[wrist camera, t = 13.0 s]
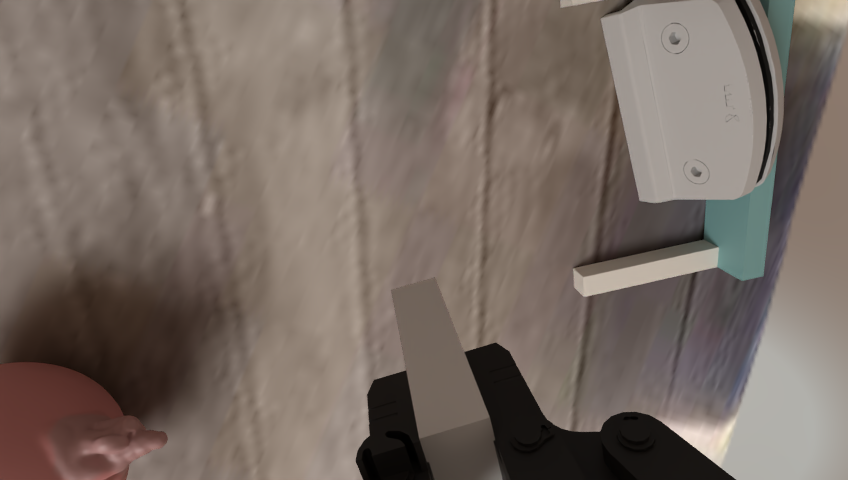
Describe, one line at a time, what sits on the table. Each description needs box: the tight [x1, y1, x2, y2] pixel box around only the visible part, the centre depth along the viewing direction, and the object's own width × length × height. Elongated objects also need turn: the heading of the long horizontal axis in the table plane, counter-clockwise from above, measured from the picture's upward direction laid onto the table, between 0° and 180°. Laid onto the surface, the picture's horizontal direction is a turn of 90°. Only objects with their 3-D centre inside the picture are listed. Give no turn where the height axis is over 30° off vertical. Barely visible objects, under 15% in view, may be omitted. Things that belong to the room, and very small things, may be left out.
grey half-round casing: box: [601, 0, 784, 203], centre depth 37 cm, size 17×5×10 cm, turn 21°
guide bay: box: [560, 0, 795, 297], centre depth 39 cm, size 26×15×5 cm, turn 9°
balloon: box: [0, 362, 168, 480], centre depth 35 cm, size 15×20×15 cm
